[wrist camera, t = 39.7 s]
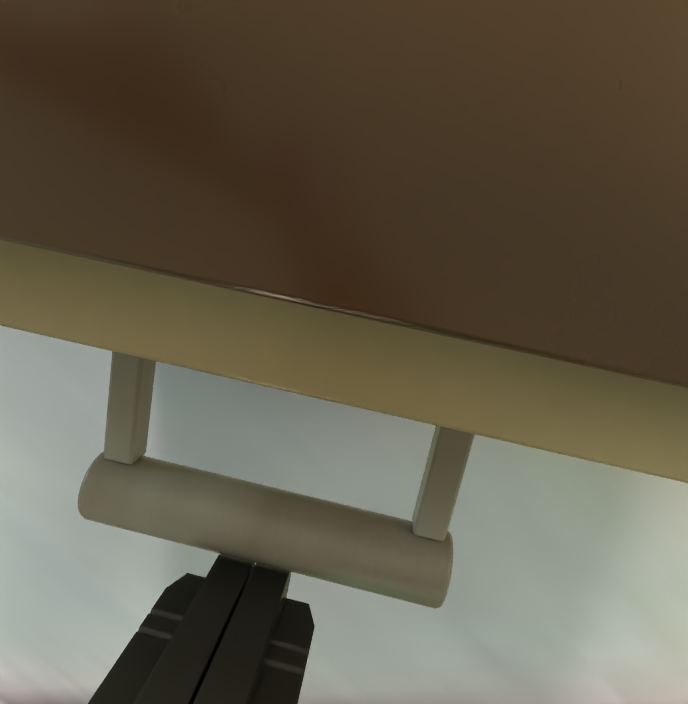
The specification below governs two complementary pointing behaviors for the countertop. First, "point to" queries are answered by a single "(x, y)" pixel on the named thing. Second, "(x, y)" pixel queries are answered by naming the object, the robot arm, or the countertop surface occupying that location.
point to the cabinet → (371, 160)
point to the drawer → (329, 384)
